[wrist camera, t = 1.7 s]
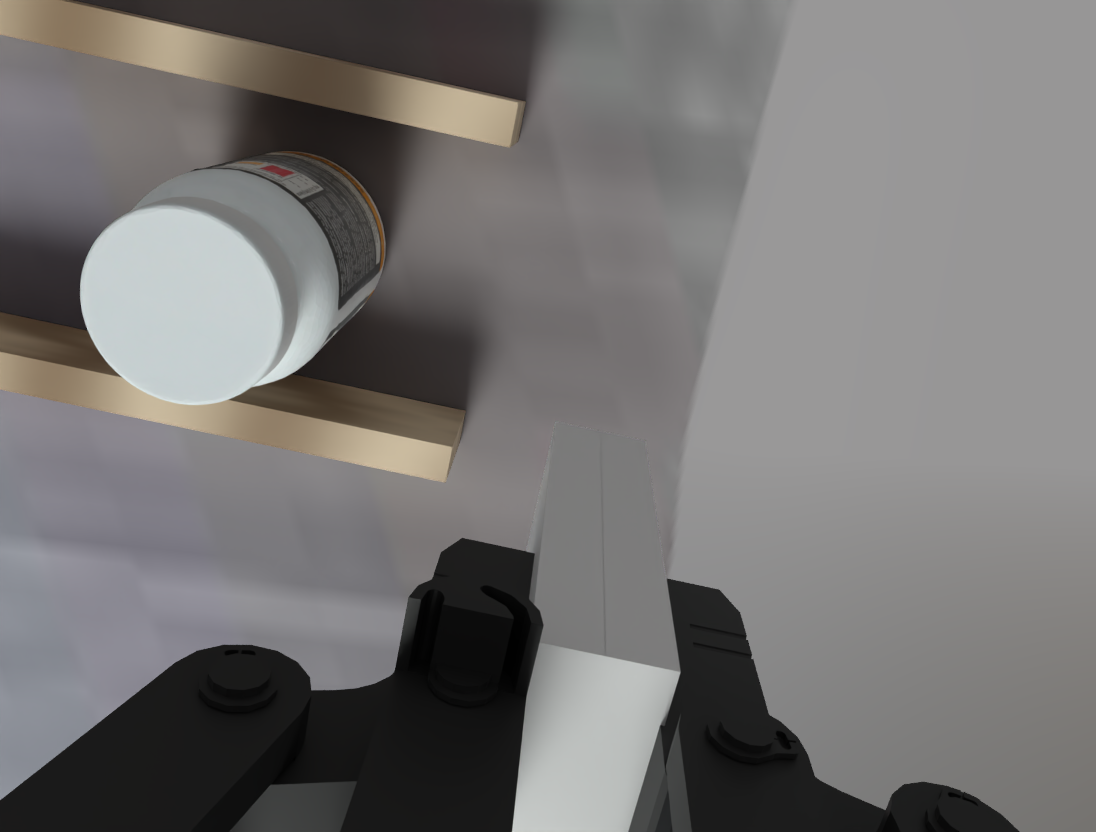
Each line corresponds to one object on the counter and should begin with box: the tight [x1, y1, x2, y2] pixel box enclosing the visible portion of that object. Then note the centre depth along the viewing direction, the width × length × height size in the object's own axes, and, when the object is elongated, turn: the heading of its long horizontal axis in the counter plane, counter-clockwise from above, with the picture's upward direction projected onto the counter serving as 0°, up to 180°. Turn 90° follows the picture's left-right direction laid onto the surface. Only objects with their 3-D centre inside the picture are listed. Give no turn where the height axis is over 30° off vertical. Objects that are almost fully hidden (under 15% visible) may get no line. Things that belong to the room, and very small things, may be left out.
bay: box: [0, 0, 526, 483], centre depth 28 cm, size 24×11×5 cm, turn 78°
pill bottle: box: [80, 151, 386, 405], centre depth 26 cm, size 6×6×10 cm
